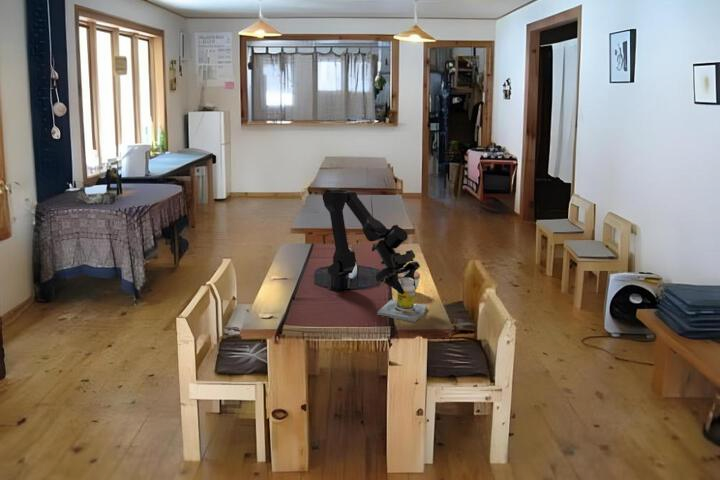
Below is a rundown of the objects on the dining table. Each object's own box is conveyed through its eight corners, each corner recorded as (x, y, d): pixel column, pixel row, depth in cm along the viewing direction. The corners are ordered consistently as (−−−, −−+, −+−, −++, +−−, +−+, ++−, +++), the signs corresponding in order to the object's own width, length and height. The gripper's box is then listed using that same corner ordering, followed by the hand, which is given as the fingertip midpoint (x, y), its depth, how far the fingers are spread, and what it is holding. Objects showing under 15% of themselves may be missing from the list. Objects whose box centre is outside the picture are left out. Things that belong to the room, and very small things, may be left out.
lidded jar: (410, 298, 290) (412, 274, 287) (386, 292, 295) (387, 269, 293) (423, 292, 299) (425, 269, 296) (399, 286, 304) (401, 263, 302)
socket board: (377, 315, 269) (377, 311, 268) (390, 302, 283) (391, 299, 283) (417, 322, 264) (417, 318, 264) (429, 309, 279) (429, 305, 278)
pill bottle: (392, 307, 274) (395, 278, 271) (405, 304, 277) (408, 275, 275) (404, 312, 269) (406, 282, 266) (416, 309, 273) (419, 280, 270)
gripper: (383, 247, 264) (405, 285, 259) (418, 239, 277) (439, 276, 272) (366, 263, 271) (386, 301, 266) (400, 255, 284) (420, 291, 279)
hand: (409, 292), depth 271 cm, fingers closed on pill bottle, 6 cm apart
